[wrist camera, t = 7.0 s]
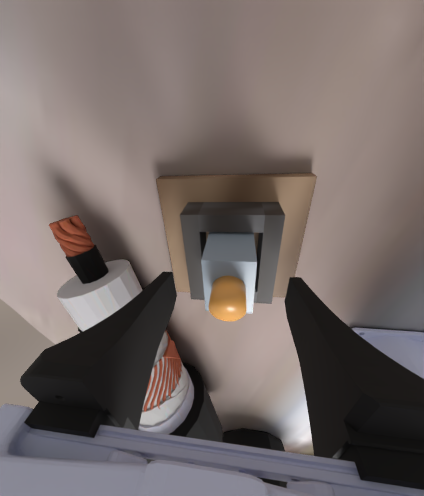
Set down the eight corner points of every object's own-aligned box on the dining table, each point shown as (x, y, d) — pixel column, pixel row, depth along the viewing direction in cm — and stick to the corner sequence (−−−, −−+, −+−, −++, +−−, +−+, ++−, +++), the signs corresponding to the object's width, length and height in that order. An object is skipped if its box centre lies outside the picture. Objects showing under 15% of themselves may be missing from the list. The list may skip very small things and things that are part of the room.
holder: (312, 173, 14) (331, 186, 11) (287, 290, 20) (296, 319, 17) (160, 176, 15) (141, 188, 12) (179, 284, 21) (169, 311, 18)
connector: (251, 219, 15) (259, 280, 9) (249, 262, 17) (253, 334, 11) (212, 219, 16) (196, 278, 10) (214, 261, 18) (201, 330, 12)
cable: (131, 196, 21) (122, 209, 12) (210, 391, 35) (234, 467, 25) (26, 226, 19) (-79, 268, 10) (153, 421, 33) (156, 515, 23)
